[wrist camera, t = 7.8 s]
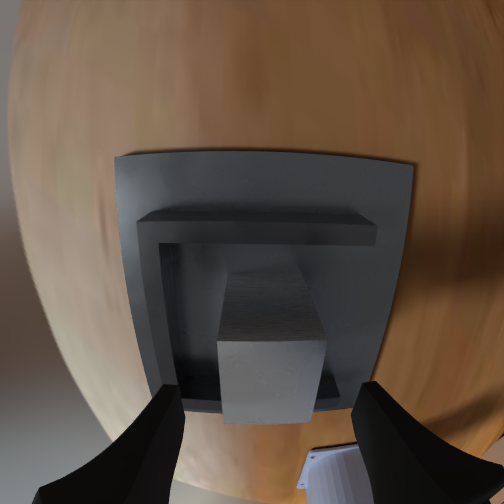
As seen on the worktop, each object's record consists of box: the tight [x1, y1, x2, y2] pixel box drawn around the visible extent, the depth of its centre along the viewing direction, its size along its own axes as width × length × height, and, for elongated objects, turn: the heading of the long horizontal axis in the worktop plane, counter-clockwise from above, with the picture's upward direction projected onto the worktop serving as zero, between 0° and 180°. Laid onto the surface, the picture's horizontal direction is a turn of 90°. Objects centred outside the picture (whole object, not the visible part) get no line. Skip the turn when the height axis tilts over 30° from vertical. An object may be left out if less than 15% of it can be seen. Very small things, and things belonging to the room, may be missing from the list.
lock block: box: [217, 274, 328, 424], centre depth 14 cm, size 5×4×6 cm
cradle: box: [115, 151, 414, 413], centre depth 16 cm, size 18×16×3 cm
